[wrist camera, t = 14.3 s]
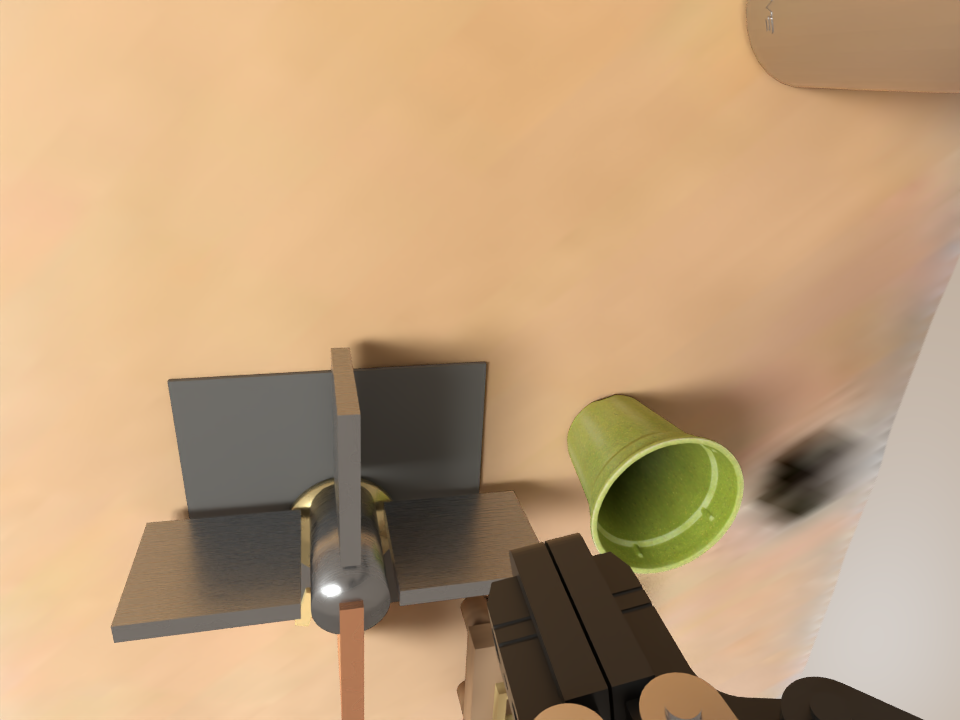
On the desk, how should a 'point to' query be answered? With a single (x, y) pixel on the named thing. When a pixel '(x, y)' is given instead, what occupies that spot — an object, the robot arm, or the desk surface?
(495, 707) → the level stand
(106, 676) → the desk surface
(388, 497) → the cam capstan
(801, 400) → the desk surface
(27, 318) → the desk surface
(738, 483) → the plant pot
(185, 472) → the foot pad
